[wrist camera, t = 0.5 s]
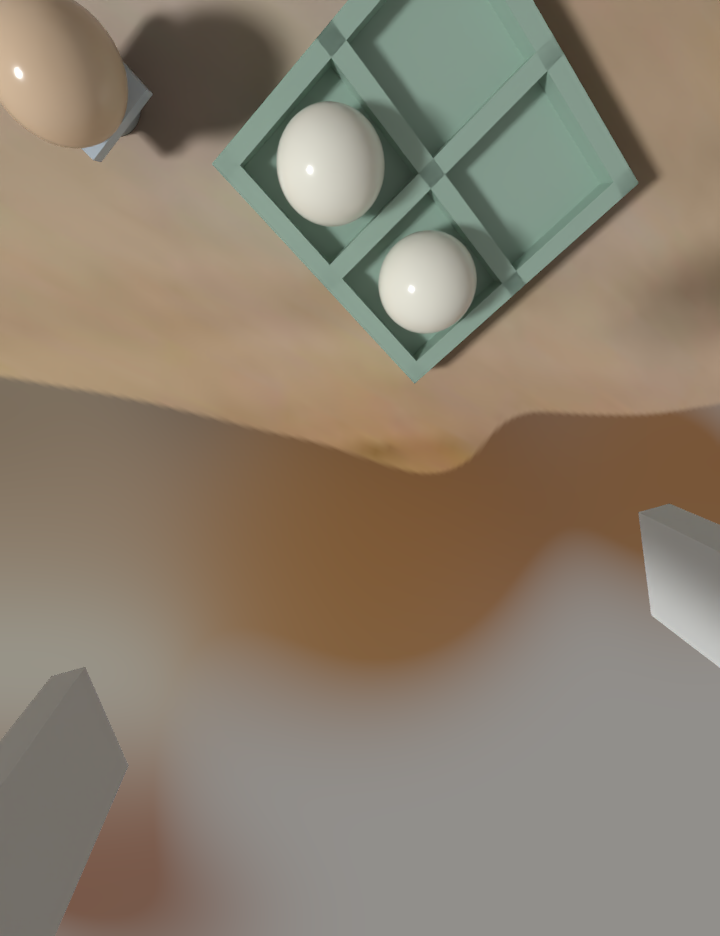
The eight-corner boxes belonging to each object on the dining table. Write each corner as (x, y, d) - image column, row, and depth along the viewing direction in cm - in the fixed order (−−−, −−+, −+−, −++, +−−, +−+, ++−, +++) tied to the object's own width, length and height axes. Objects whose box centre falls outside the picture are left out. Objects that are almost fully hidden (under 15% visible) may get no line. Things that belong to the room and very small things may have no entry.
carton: (444, -99, 24) (457, -131, 22) (615, 185, 30) (638, 183, 28) (220, 168, 29) (211, 163, 26) (408, 372, 34) (414, 383, 32)
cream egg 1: (330, 86, 26) (332, 57, 22) (399, 174, 28) (415, 165, 24) (259, 168, 28) (246, 158, 23) (329, 247, 30) (331, 253, 25)
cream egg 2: (424, 207, 29) (444, 205, 24) (480, 280, 31) (510, 291, 26) (355, 276, 31) (361, 287, 26) (413, 342, 33) (429, 363, 28)
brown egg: (67, -19, 23) (-3, -84, 18) (168, 92, 24) (130, 61, 20) (-1, 83, 24) (-82, 49, 19) (100, 180, 26) (49, 172, 21)
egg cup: (98, 28, 26) (67, 2, 22) (167, 104, 27) (146, 89, 24) (49, 98, 27) (13, 82, 24) (118, 166, 28) (93, 160, 25)
